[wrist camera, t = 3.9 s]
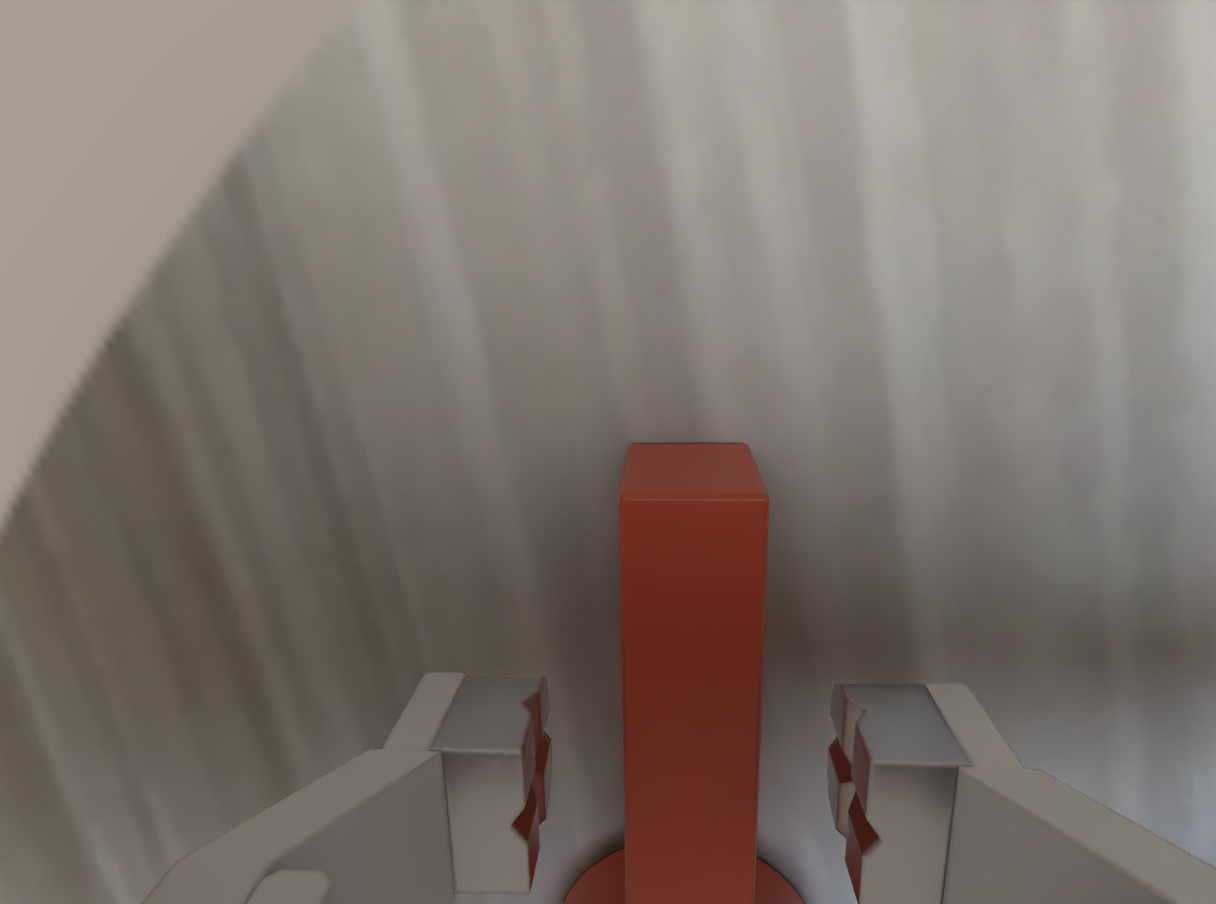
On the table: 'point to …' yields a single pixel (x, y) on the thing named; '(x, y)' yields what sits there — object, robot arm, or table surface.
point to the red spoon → (690, 681)
